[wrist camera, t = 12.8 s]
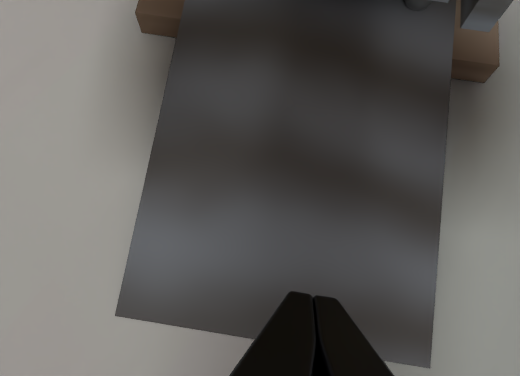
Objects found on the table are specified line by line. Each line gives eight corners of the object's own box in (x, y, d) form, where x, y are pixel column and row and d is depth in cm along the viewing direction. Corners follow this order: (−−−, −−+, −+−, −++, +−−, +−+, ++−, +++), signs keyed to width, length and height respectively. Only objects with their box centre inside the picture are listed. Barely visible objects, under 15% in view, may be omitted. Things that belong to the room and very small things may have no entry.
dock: (476, 376, 21) (584, 389, 14) (68, 308, 21) (-14, 290, 14) (474, -88, 30) (537, -209, 24) (195, -126, 31) (180, -255, 24)
